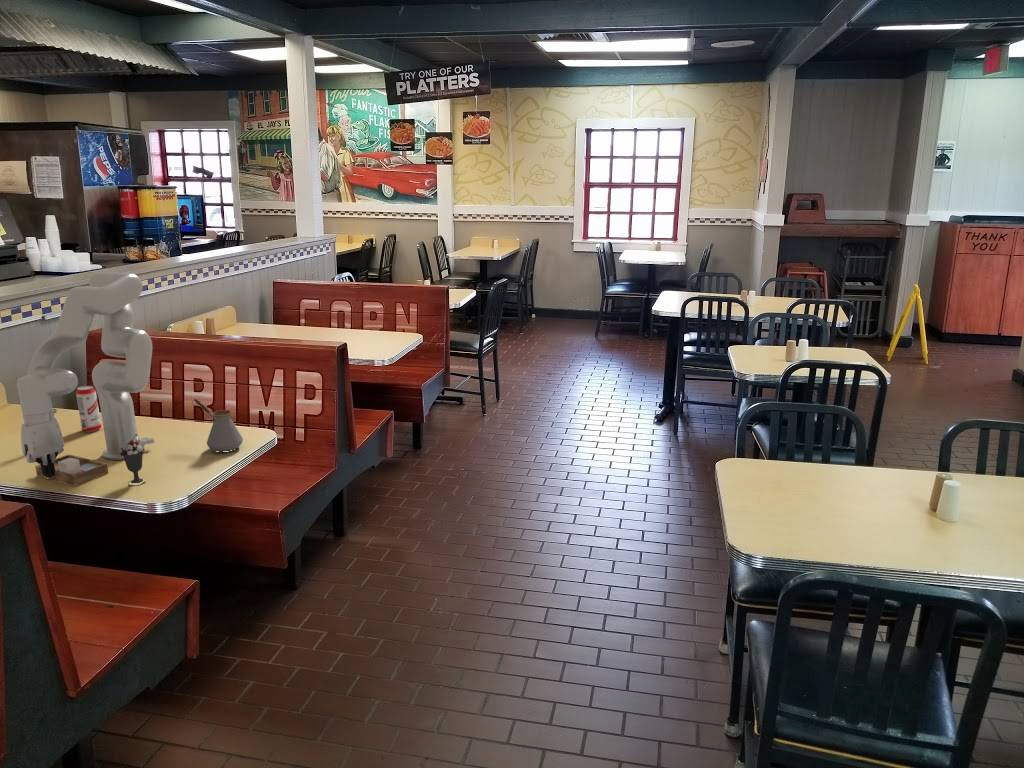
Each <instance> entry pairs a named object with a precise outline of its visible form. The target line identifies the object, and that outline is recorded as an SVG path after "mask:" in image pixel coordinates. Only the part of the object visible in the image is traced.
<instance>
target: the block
mask: <svg viewBox="0 0 1024 768" xmlns="http://www.w3.org/2000/svg"><path fill="white" fill-rule="evenodd" d="M58 465H59V471H61V472H65V473H68V474H72V475H74V474H77V473H79V472H81V469H80V463H79V460H78V459H75V458H71V457H70V458H67V459H65V460H62V461H59V462H58Z"/></svg>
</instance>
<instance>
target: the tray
mask: <svg viewBox="0 0 1024 768" xmlns="http://www.w3.org/2000/svg"><path fill="white" fill-rule="evenodd" d="M70 457H71V458H75V459H78V460H79V463H80V466H82V465H84V464H87V463H90V464H94V465H98V466H97V467H95V468H92V469H89V470H87V471H83V470H81V472H79V473H77V474H74V475H72V474H68V473H65V472H61V471H59V465H58V462H59V461H62V460H65V459H67V458H70ZM54 467H55V476H52V477H46V476H44V475H43V474H42V470H41V464H37V465H35V471H36V473H35V474H36V476H37V477H40V476H41V477H40V478H43V477H45V478H44V479H47V478H48V480H51V481H54V480H55V482H58V481H59V483H62V484H66V485H69V484H70V485H69V486H74V487H78V486H80V485H82V483H83V484H85V483H88V482H90V481H93V480H94V479H98V478H100V477H102V476H105V475H108V474H109V469H108V463H107V462H106V463H105V462H102V461H98V460H94V459H89V458H85V457H81V456H77V455H74V454H66V455H63V456H60V457H58V458H57V457H56V459H55V462H54ZM107 473H108V474H107ZM104 474H105V475H104ZM97 477H98V478H97Z"/></svg>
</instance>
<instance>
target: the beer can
mask: <svg viewBox="0 0 1024 768" xmlns="http://www.w3.org/2000/svg"><path fill="white" fill-rule="evenodd" d="M75 395H76V401H77V407H78V409H77V410H78V413H79V420H80V426H81V431H83V432H84V431H85V433H95V432H98V431H100V430H101V428H102V422H101V421H102V420H101V416H100V415H101V414H100V409H99V403H98V398H97V397H98V395H97V391H96V389H95V387H94V385H82V386H79V387H78V386H77V387H76V393H75ZM99 429H100V430H99ZM97 430H98V431H97ZM94 431H95V432H94Z"/></svg>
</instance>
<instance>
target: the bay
mask: <svg viewBox="0 0 1024 768" xmlns="http://www.w3.org/2000/svg"><path fill="white" fill-rule="evenodd" d="M97 466H98V465H94V464H90V463H87V464H84V465H82V466H80V469H81V470H83V471H87V470H89V469H92V468H95V467H97Z"/></svg>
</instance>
